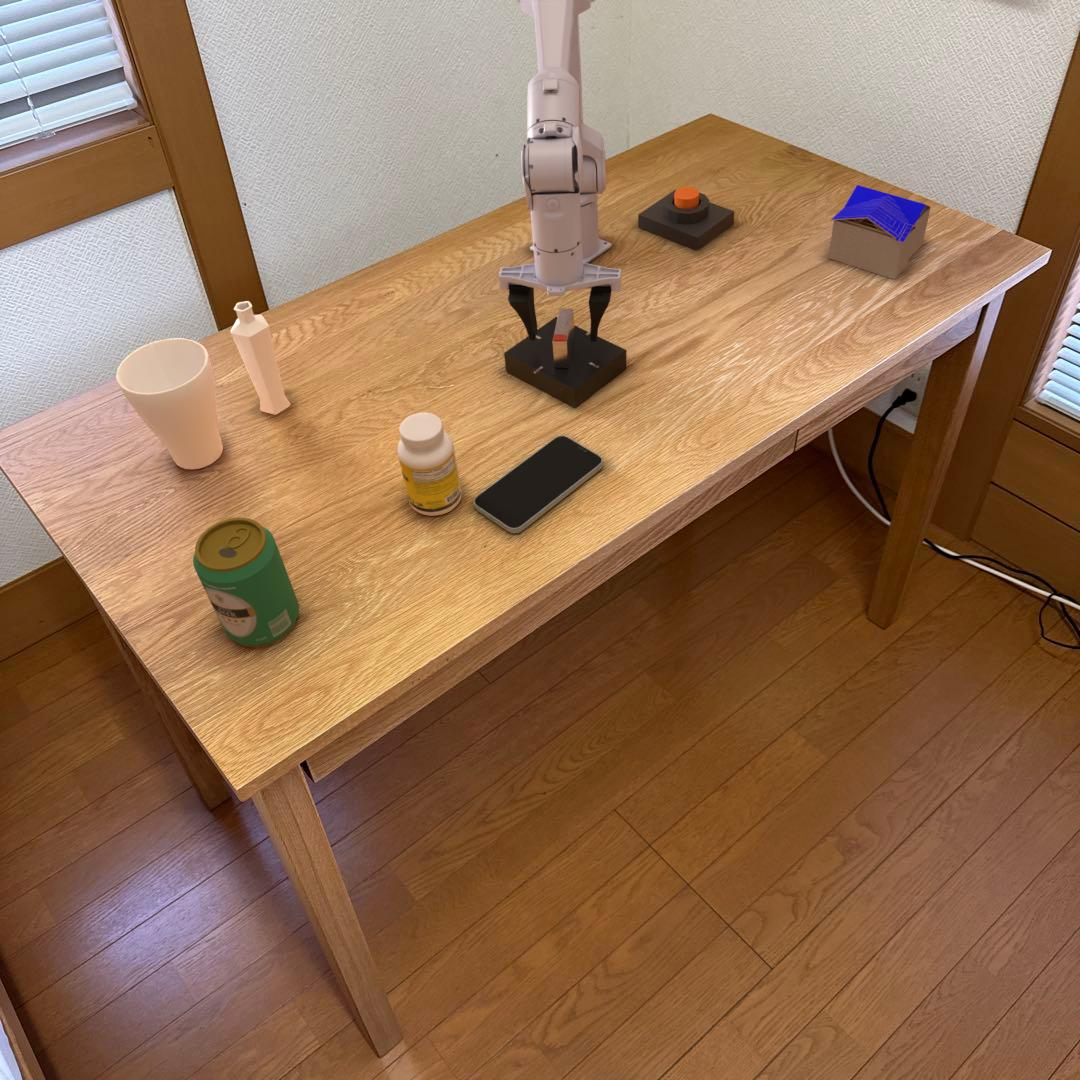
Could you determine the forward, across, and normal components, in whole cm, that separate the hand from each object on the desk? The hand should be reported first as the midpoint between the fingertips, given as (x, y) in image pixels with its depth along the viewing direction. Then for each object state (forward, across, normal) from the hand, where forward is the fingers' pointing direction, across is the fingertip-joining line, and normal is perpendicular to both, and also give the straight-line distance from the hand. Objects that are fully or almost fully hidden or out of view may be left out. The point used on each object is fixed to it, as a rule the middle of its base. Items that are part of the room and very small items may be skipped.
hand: (563, 336), depth 131 cm
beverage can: (+6, -27, -43) cm, 51 cm away
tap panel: (+5, 0, 0) cm, 5 cm away
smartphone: (+5, 0, -22) cm, 22 cm away
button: (+2, +14, +35) cm, 38 cm away
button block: (+5, +14, +36) cm, 38 cm away
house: (+6, +41, +29) cm, 50 cm away
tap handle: (+2, 0, 0) cm, 2 cm away
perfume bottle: (+6, -36, -8) cm, 38 cm away
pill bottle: (+6, -12, -24) cm, 28 cm away
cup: (+6, -43, -18) cm, 47 cm away
